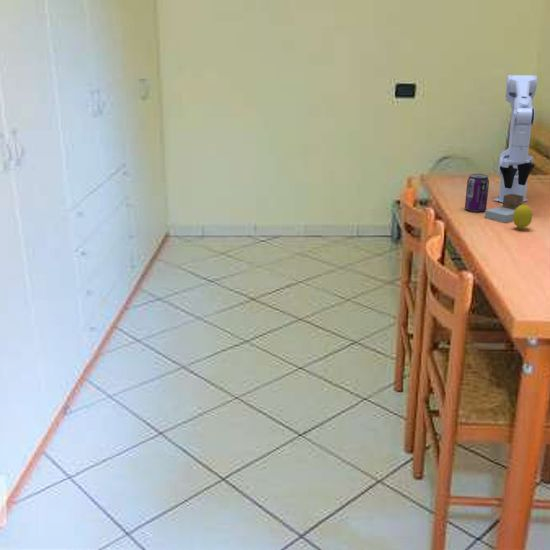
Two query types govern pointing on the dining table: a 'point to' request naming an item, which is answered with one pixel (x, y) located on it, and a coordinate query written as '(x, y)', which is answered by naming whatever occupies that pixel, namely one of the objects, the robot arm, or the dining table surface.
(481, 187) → the beverage can
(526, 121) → the robot arm
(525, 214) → the lemon
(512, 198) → the walnut block
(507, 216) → the grey base
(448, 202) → the dining table surface
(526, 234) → the dining table surface
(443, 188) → the dining table surface
